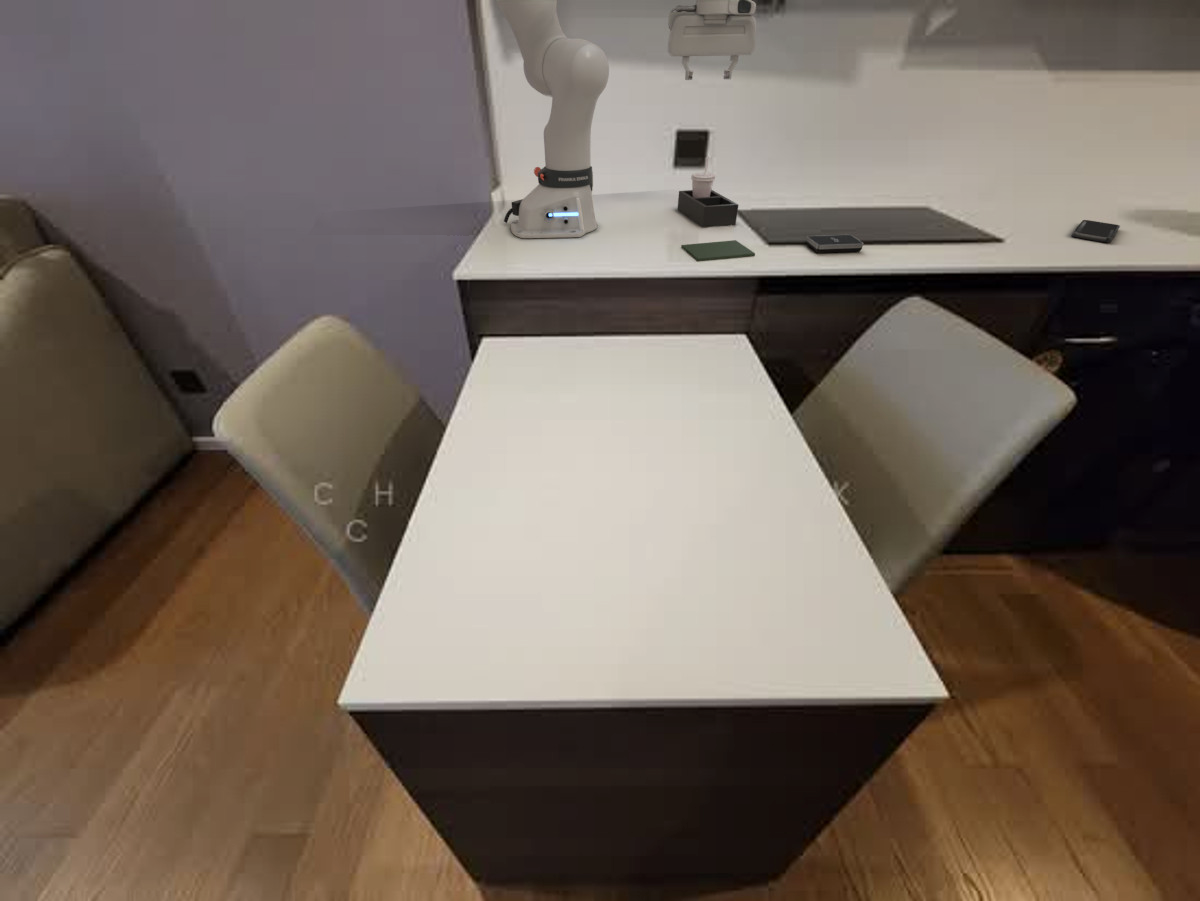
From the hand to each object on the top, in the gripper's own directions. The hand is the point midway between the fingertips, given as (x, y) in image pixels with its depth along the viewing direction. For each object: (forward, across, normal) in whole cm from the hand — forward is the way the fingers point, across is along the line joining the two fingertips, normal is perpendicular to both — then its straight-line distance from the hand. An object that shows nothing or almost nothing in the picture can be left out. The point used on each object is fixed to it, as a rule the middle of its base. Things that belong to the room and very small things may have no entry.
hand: (707, 79), depth 127 cm
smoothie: (+31, +2, +2) cm, 31 cm away
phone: (+32, +96, -24) cm, 104 cm away
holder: (+31, +2, -2) cm, 31 cm away
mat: (+31, -1, -31) cm, 44 cm away
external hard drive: (+31, +26, -31) cm, 51 cm away
